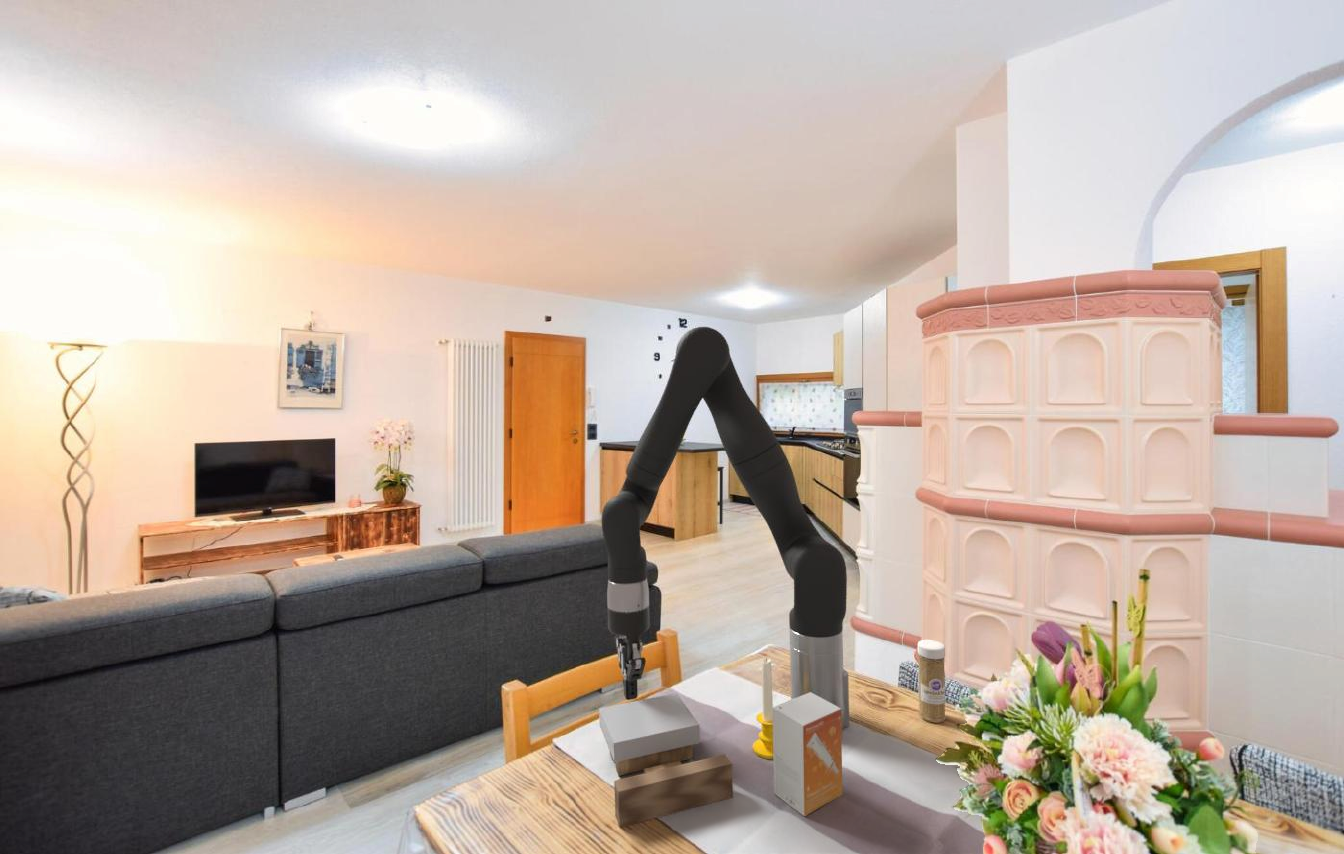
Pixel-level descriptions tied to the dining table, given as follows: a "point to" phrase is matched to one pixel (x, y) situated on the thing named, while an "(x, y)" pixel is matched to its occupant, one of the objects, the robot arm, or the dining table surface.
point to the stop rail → (672, 789)
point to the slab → (648, 727)
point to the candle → (765, 714)
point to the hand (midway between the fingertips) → (630, 697)
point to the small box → (807, 752)
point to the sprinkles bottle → (931, 681)
